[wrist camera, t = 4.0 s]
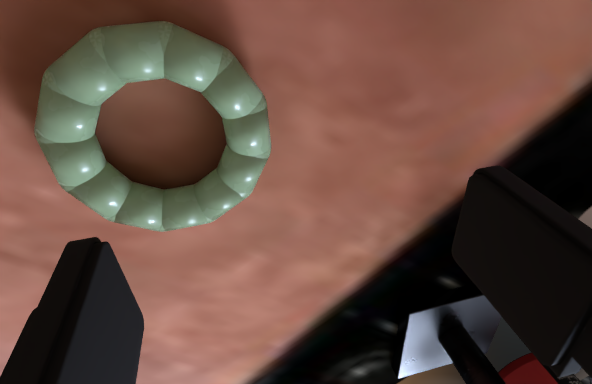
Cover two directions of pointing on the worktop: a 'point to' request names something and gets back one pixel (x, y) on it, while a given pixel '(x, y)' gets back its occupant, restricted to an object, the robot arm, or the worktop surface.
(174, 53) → the ring
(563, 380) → the canned food
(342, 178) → the worktop surface
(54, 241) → the worktop surface
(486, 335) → the stand
